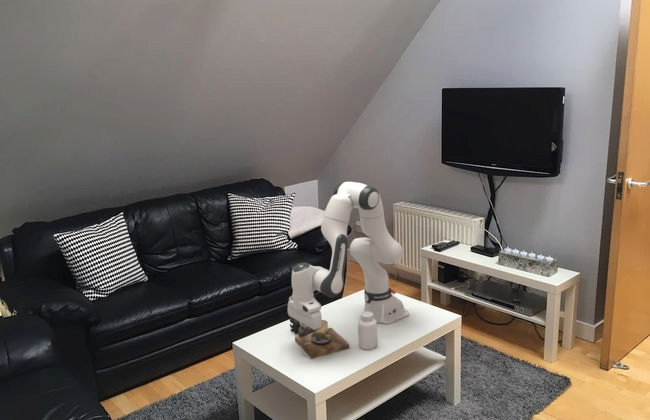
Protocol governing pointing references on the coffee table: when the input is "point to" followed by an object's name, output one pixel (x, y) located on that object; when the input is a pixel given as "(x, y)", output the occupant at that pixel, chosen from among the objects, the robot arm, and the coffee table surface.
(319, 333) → the crank handle
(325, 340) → the post collar
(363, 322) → the pill bottle
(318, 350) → the base plate
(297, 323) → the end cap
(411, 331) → the coffee table surface
